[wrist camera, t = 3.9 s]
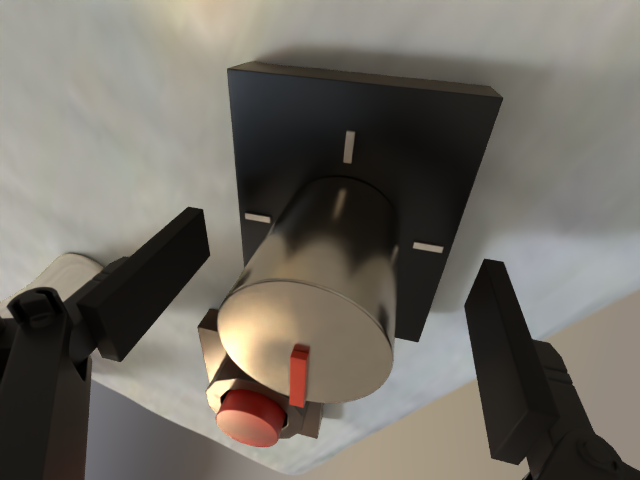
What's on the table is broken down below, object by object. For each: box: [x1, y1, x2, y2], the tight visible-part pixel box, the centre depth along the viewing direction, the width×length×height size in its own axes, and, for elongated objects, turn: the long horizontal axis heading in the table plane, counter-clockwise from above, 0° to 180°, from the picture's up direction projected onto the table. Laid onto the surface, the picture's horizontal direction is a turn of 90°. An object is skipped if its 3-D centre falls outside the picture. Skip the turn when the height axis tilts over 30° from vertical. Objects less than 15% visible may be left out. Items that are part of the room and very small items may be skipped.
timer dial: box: [217, 177, 400, 408], centre depth 14 cm, size 6×6×8 cm
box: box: [197, 309, 324, 439], centre depth 28 cm, size 12×10×4 cm
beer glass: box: [0, 253, 104, 318], centre depth 23 cm, size 7×7×15 cm
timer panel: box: [227, 62, 503, 342], centre depth 18 cm, size 14×11×3 cm
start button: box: [216, 389, 286, 447], centre depth 26 cm, size 5×5×2 cm
